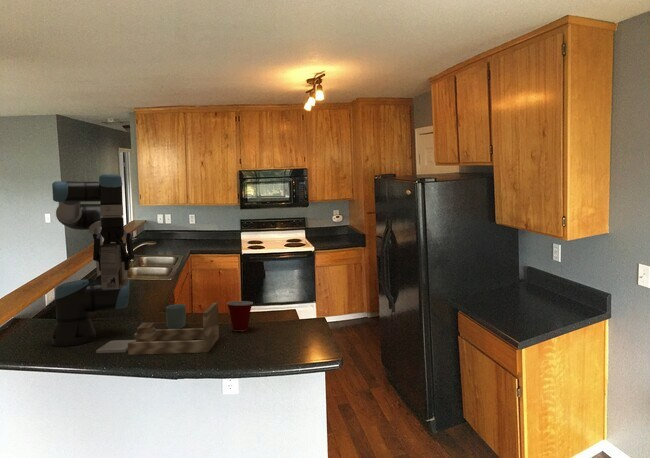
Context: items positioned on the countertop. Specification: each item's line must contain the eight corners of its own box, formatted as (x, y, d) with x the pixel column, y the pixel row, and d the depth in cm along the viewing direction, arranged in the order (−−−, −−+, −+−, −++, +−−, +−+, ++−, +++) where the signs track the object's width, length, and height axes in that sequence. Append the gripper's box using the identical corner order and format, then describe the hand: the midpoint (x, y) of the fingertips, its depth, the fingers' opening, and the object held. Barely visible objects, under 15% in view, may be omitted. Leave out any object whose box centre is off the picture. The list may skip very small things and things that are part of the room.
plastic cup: (259, 328, 189) (258, 300, 189) (244, 335, 179) (243, 305, 179) (237, 326, 194) (237, 298, 193) (222, 332, 184) (221, 303, 183)
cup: (180, 332, 186) (179, 308, 186) (163, 331, 188) (162, 307, 187) (189, 327, 194) (188, 304, 193) (173, 326, 195) (172, 303, 195)
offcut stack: (134, 351, 162) (133, 329, 161) (144, 342, 172) (143, 322, 171) (148, 350, 162) (147, 328, 161) (158, 342, 172) (157, 321, 171)
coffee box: (110, 285, 169) (109, 243, 169) (128, 285, 170) (126, 242, 169) (100, 289, 160) (98, 244, 160) (119, 289, 161) (117, 244, 160)
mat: (96, 353, 160) (96, 350, 160) (111, 343, 172) (111, 340, 172) (124, 352, 160) (124, 349, 160) (137, 342, 172) (137, 339, 172)
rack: (128, 354, 158) (126, 315, 157) (147, 339, 176) (145, 304, 175) (208, 352, 158) (207, 312, 158) (218, 337, 176) (217, 302, 176)
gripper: (79, 217, 160) (82, 281, 161) (135, 216, 161) (137, 280, 162) (90, 217, 168) (92, 278, 169) (142, 216, 168) (145, 277, 169)
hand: (114, 279), depth 165 cm, fingers closed on coffee box, 7 cm apart
